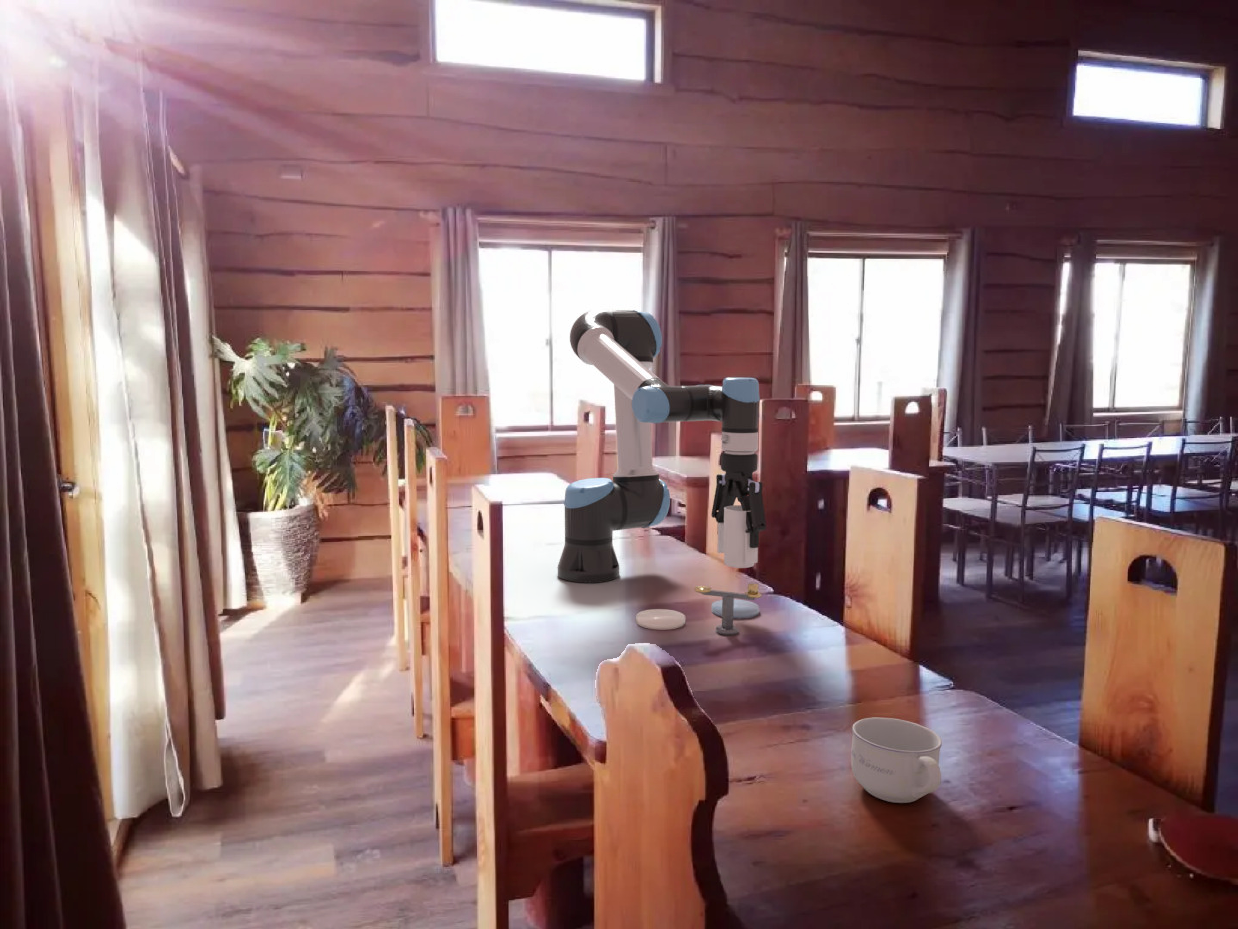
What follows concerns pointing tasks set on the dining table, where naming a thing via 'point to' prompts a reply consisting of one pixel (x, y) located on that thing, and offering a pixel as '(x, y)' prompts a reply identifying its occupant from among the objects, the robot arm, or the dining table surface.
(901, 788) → the teacup
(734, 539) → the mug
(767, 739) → the dining table surface
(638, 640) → the dining table surface
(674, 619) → the dish cream
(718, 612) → the dish blue
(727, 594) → the balance
